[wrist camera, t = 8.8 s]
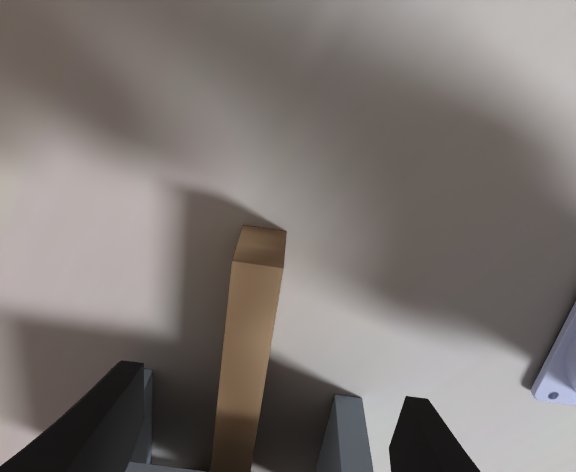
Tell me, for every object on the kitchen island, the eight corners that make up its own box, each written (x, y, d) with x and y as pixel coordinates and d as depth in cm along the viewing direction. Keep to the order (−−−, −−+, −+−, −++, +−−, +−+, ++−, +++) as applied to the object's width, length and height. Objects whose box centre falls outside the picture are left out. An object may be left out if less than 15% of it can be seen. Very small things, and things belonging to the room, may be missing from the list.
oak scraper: (325, 236, 20) (329, 275, 17) (274, 490, 28) (270, 549, 25) (204, 218, 20) (185, 254, 17) (185, 479, 28) (170, 537, 25)
